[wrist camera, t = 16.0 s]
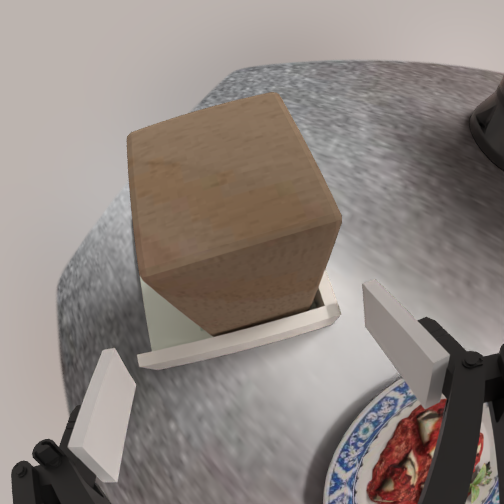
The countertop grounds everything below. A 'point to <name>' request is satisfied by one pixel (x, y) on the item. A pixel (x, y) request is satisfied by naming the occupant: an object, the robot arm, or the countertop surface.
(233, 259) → the wooden block
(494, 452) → the ceramic plate
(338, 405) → the countertop surface
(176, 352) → the corner arena
